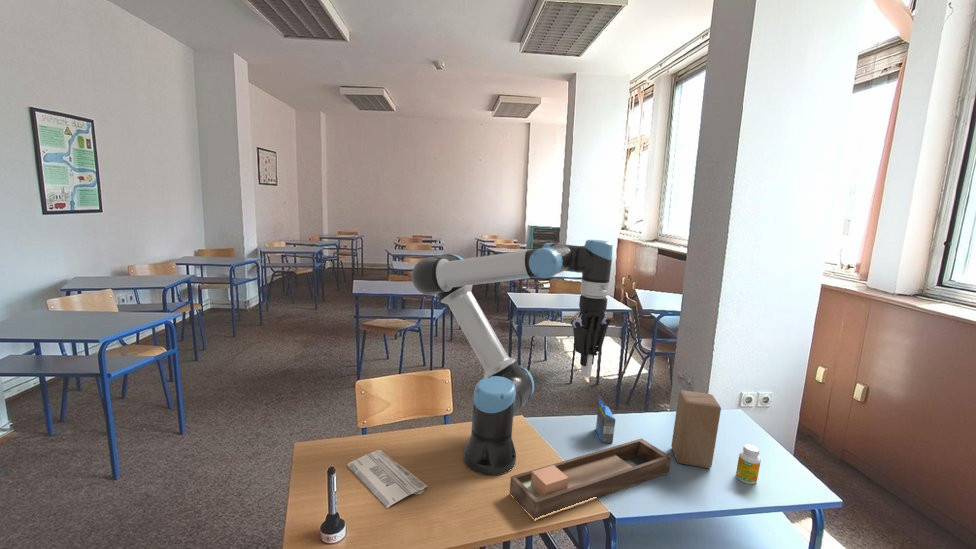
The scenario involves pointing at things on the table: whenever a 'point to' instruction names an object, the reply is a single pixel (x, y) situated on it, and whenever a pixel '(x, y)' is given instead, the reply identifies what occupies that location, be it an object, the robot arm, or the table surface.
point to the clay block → (548, 481)
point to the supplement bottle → (748, 464)
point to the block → (695, 428)
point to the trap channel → (594, 476)
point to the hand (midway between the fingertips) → (585, 375)
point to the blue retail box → (605, 423)
